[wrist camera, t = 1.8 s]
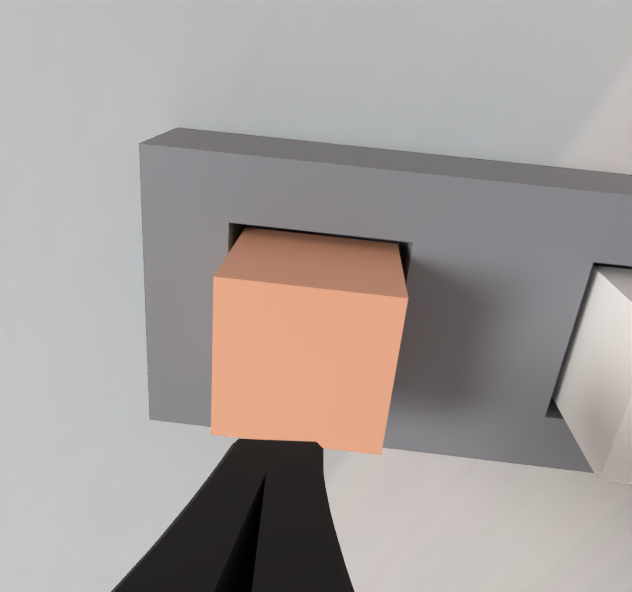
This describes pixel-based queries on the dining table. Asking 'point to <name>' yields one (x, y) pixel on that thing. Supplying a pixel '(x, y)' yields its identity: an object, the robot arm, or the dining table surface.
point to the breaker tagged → (306, 339)
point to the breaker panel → (418, 268)
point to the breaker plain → (601, 375)
